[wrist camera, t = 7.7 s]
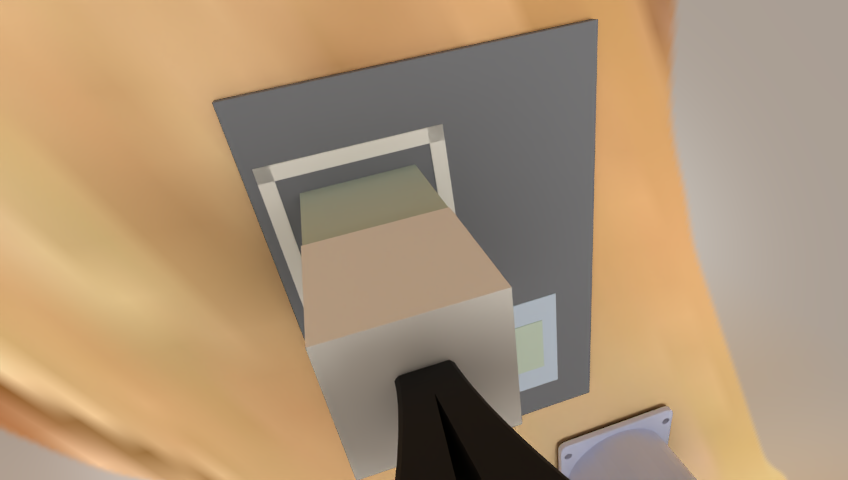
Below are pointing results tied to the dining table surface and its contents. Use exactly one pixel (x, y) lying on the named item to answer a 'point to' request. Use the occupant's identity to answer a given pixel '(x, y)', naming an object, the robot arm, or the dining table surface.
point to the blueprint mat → (454, 171)
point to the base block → (366, 203)
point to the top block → (404, 325)
